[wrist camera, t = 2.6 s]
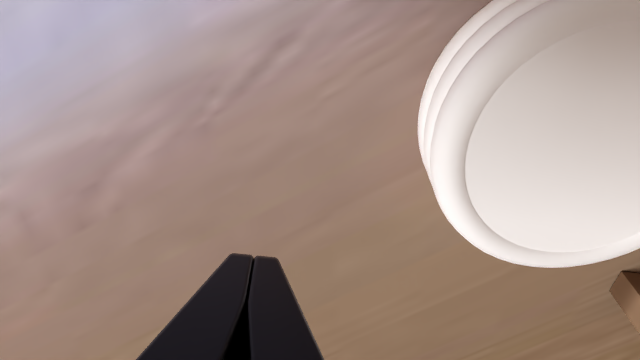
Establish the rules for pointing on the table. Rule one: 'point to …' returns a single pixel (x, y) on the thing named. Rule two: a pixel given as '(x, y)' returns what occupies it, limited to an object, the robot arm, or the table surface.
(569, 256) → the coaster
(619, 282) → the wooden u-shaped frame
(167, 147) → the table surface
